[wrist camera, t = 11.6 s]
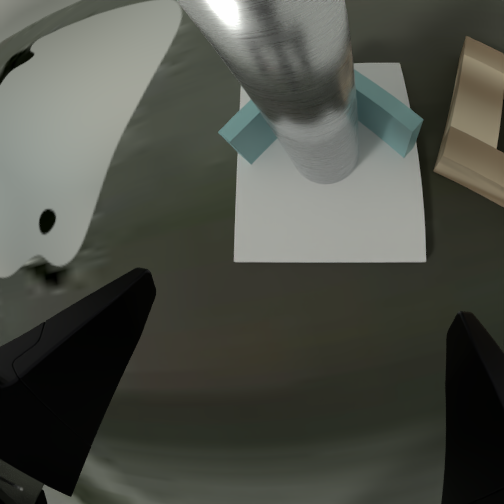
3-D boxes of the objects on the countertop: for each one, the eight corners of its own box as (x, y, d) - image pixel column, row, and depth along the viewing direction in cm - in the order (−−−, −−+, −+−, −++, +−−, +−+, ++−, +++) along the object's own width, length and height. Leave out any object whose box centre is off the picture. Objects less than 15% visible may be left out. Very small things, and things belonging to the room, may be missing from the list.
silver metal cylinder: (373, 159, 17) (365, -91, 3) (316, 197, 18) (180, -8, 4) (332, 110, 18) (255, -118, 4) (279, 145, 19) (125, -50, 5)
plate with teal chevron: (423, 262, 16) (442, 256, 12) (237, 262, 20) (207, 256, 16) (399, 68, 17) (402, 29, 13) (244, 79, 21) (222, 46, 17)
